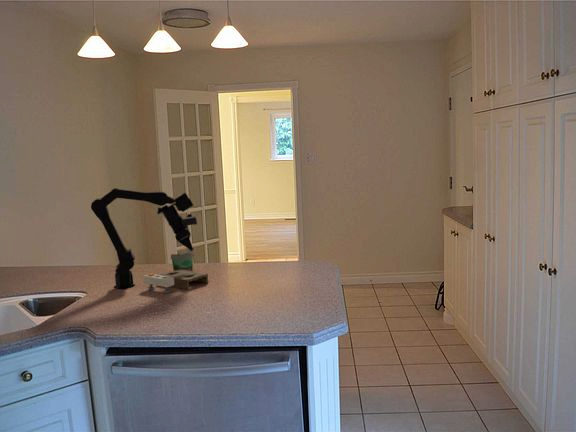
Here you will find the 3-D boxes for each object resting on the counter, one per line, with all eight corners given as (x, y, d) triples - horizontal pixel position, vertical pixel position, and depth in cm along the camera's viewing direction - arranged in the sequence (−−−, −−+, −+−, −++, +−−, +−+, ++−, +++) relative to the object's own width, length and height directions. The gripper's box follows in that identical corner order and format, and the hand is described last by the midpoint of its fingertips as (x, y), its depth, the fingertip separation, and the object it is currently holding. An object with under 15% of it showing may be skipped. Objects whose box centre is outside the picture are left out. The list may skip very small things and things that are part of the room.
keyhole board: (187, 289, 213) (186, 280, 213) (158, 284, 224) (157, 275, 223) (208, 282, 223) (207, 273, 222) (179, 277, 233) (178, 269, 233)
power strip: (167, 294, 207) (165, 278, 206) (144, 289, 215) (143, 274, 215) (174, 292, 210) (173, 276, 209) (152, 287, 219) (150, 272, 218)
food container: (180, 277, 234) (179, 255, 233) (171, 275, 238) (170, 254, 236) (200, 271, 244) (199, 250, 242) (191, 269, 247) (190, 249, 246)
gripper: (191, 211, 216) (209, 242, 220) (188, 205, 234) (205, 235, 238) (167, 224, 214) (186, 256, 218) (166, 218, 232) (184, 247, 236)
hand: (191, 248), depth 228 cm, fingers open, 9 cm apart
